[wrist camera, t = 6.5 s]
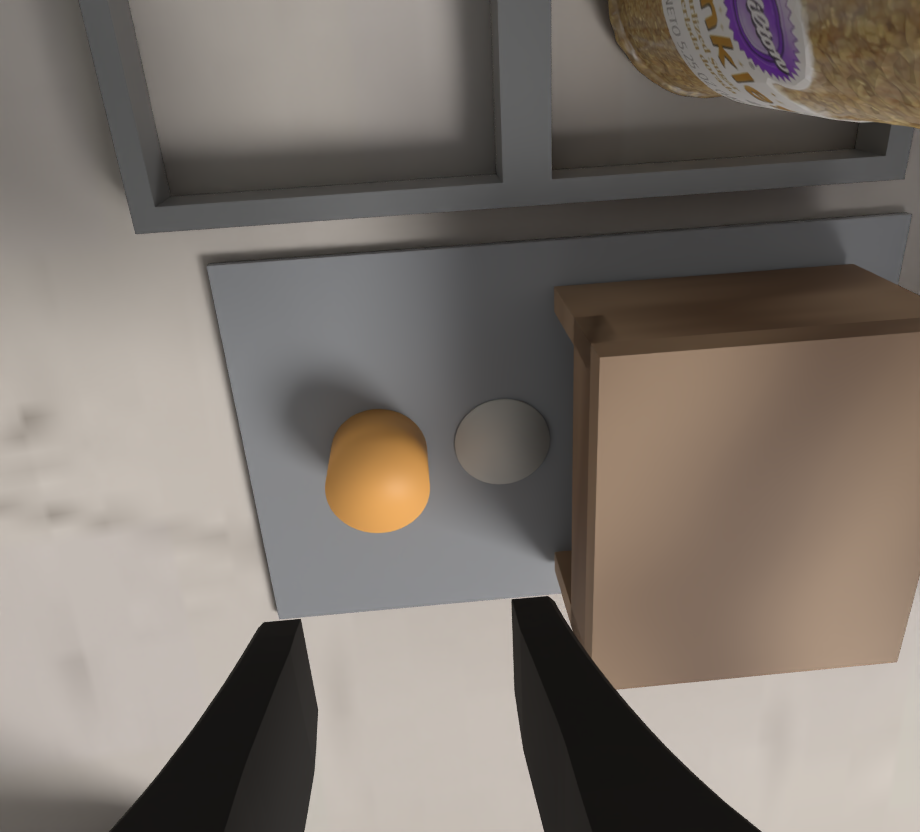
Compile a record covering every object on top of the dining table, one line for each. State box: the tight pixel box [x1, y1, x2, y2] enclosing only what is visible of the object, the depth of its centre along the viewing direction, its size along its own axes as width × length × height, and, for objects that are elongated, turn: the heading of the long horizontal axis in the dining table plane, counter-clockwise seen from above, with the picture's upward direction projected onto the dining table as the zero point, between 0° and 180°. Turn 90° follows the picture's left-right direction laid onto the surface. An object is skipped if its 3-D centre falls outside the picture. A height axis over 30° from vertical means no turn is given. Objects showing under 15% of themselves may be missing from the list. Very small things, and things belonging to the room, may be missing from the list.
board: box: [207, 213, 912, 619], centre depth 19 cm, size 16×10×2 cm, turn 93°
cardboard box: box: [554, 264, 920, 690], centre depth 17 cm, size 7×8×4 cm
